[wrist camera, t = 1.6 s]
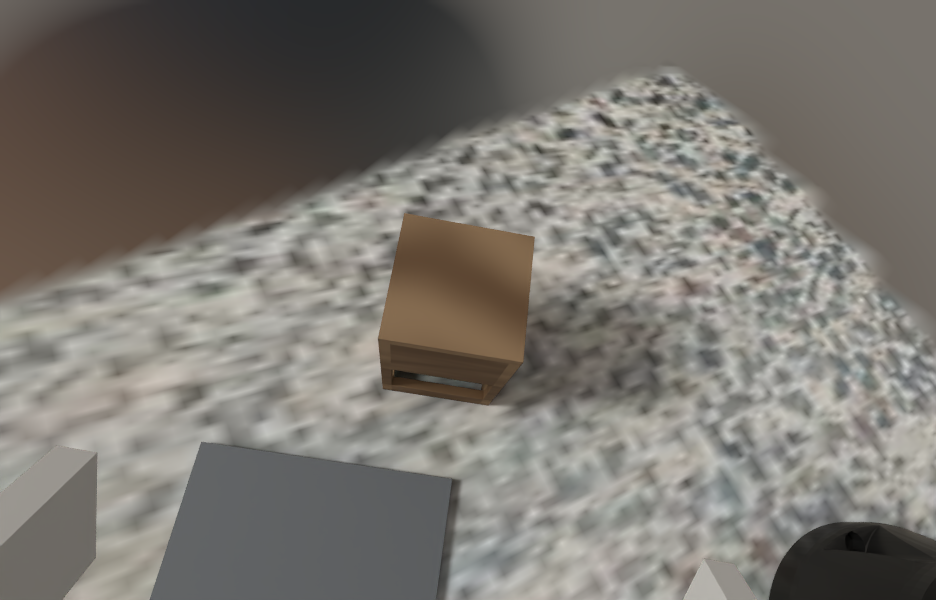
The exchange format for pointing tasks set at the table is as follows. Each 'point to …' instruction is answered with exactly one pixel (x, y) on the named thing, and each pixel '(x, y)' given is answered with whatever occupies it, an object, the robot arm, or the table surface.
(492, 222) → the table surface
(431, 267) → the wooden nightstand
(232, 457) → the mat
